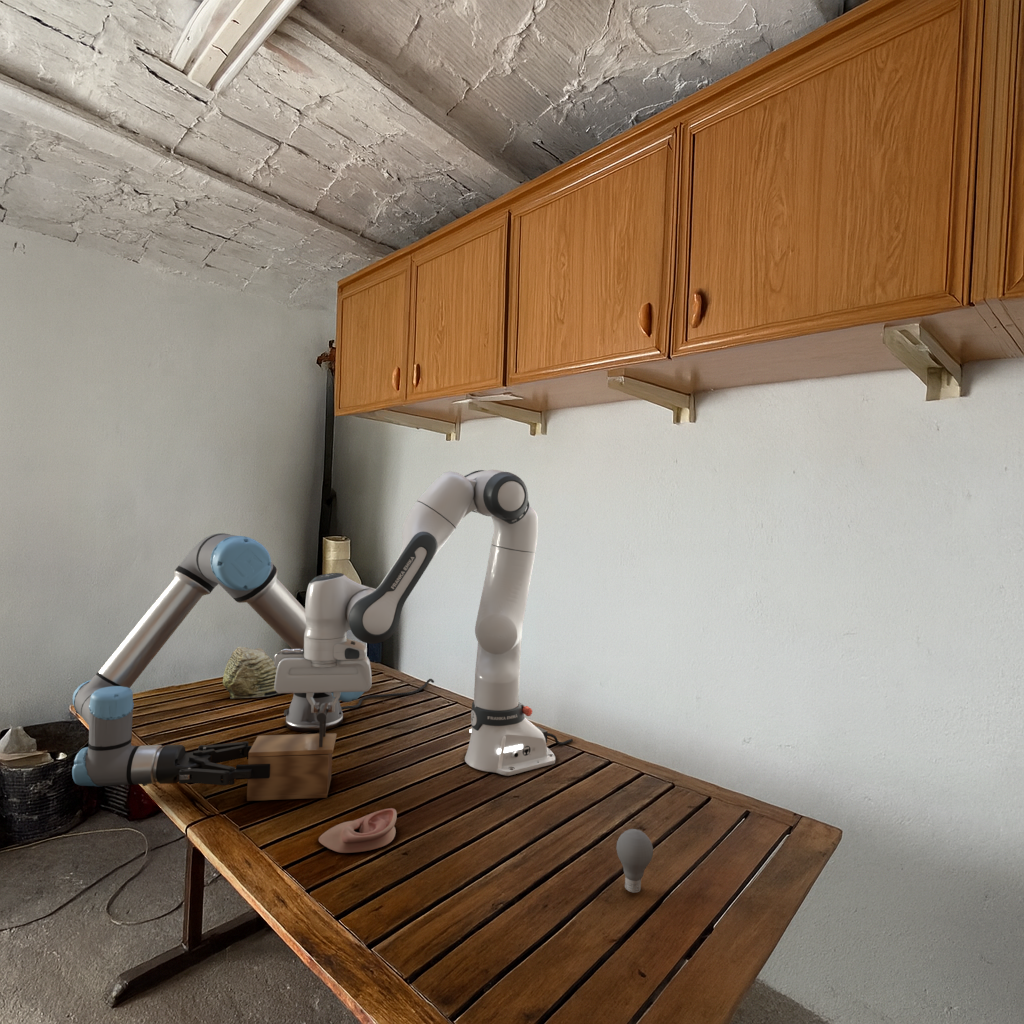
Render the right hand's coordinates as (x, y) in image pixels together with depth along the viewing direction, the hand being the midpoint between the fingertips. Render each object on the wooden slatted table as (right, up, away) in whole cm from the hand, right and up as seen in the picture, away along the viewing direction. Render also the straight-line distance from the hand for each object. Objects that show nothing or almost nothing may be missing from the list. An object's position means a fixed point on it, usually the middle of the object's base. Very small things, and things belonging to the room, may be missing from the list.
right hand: (323, 711), depth 137 cm
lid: (-6, -7, -1) cm, 9 cm away
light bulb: (+61, -20, -32) cm, 72 cm away
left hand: (-10, -10, -2) cm, 14 cm away
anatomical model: (+12, -18, -19) cm, 29 cm away
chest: (-7, -17, -1) cm, 18 cm away
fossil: (-40, -14, +61) cm, 74 cm away
